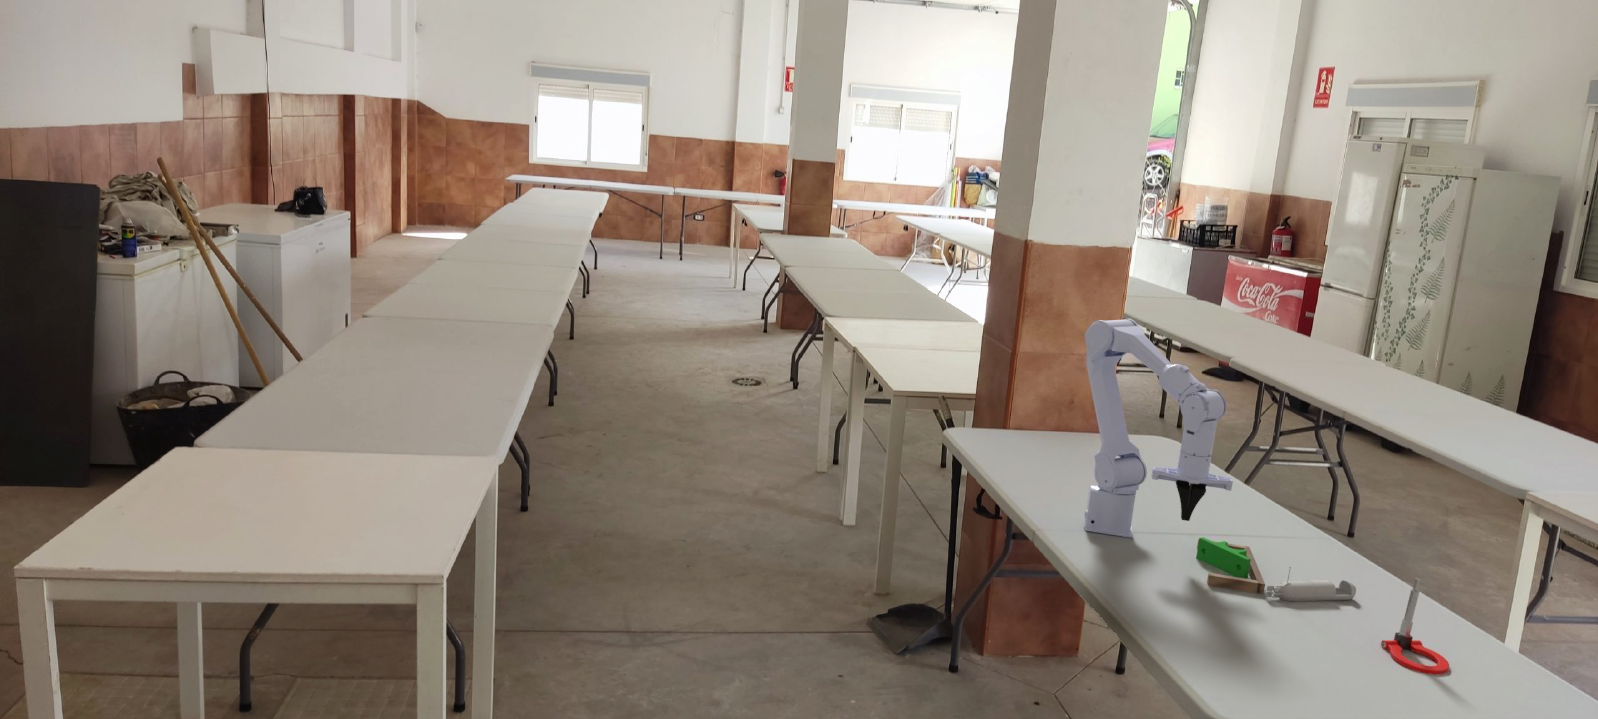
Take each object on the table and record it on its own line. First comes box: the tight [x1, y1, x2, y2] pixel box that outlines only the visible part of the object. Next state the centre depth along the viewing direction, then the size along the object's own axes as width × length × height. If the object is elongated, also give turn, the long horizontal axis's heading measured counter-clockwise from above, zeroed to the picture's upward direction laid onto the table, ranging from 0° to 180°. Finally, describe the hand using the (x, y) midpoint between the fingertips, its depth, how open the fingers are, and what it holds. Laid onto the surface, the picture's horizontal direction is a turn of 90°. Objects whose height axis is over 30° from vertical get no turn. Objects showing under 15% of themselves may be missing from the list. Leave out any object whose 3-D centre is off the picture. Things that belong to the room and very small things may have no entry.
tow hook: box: [1380, 577, 1450, 675], centre depth 172 cm, size 8×13×9 cm
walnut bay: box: [1196, 538, 1266, 595], centre depth 205 cm, size 10×19×2 cm, turn 166°
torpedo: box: [1264, 566, 1357, 602], centre depth 194 cm, size 18×5×7 cm, turn 102°
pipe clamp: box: [1196, 536, 1251, 579], centre depth 206 cm, size 11×4×5 cm, turn 29°
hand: (1185, 518), depth 207 cm, fingers closed
